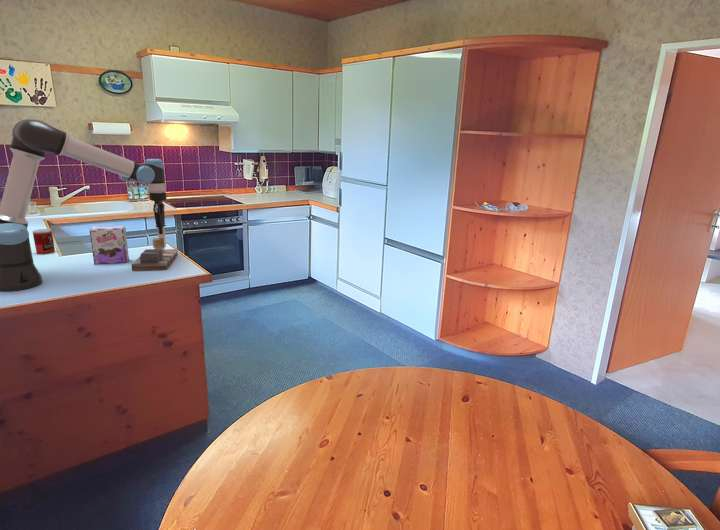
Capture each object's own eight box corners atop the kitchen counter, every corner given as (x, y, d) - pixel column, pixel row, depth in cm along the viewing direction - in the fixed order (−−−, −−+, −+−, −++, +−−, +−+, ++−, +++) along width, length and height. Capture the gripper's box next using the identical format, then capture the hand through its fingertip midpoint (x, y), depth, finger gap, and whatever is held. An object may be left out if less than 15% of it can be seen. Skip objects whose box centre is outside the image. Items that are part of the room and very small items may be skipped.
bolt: (161, 255, 212) (160, 242, 211) (150, 255, 211) (149, 242, 210) (166, 249, 222) (165, 237, 220) (155, 250, 221) (154, 238, 219)
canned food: (46, 254, 221) (42, 232, 218) (32, 253, 222) (28, 231, 219) (59, 251, 228) (55, 229, 225) (45, 250, 229) (41, 228, 226)
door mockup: (166, 270, 201) (164, 255, 199) (132, 271, 198) (130, 255, 196) (177, 255, 225) (176, 241, 223) (147, 255, 223) (146, 242, 221)
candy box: (93, 264, 206) (88, 229, 202) (97, 261, 212) (92, 226, 207) (127, 263, 210) (122, 228, 206) (129, 259, 215) (125, 225, 211)
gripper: (162, 193, 213) (167, 242, 219) (168, 190, 225) (172, 237, 231) (145, 193, 211) (150, 243, 218) (152, 190, 223) (157, 237, 230)
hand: (162, 240), depth 224 cm, fingers closed
